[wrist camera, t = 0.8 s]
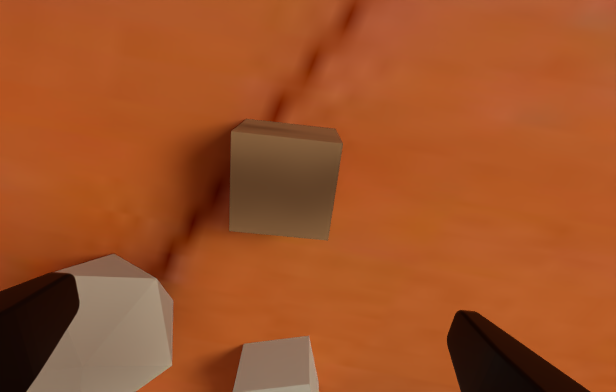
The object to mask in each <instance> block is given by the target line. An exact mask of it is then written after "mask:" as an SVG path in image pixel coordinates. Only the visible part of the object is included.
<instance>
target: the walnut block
mask: <svg viewBox="0 0 616 392" xmlns="http://www.w3.org/2000/svg"><path fill="white" fill-rule="evenodd" d="M342 147H343V143H342V141H341V139H340V137H339V135H338V133H337V131H336V129H333V128H324V127H315V126H306V125H298V124H289V123H280V122H271V121H262V120H253V119H246V120H245V121H243V122H242V123H241V124H240V125H238V126H237V127H236V128H235V129H233V130H232V131H231V160H230V213H229V231H234V232H245V233H255V234H266V235H277V236H287V237H298V238H308V239H319V240H328V237H329V231H330V224H331V218H332V211H333V205H334V198H335V192H336V185H337V179H338V172H339V166H340V159H341V153H342Z"/></svg>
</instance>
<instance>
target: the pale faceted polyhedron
mask: <svg viewBox="0 0 616 392" xmlns="http://www.w3.org/2000/svg"><path fill="white" fill-rule="evenodd" d="M55 272H61V273H70V274H72V275H73V276H74V277H75V279H76V284H77V290H78V295H79V300H80V306H79V310H78V312H77V314H76V316H75V317H74V319H73V321H72V322H71V324H70V325H69V327H68V329H67V330H66V332H65V333H64V335H63V337H62V338H61V340H60V341H59V343H58V345H57V346H56V348H55V349H54V351H53V353H52V354H51V356H50V357H49V359H48V361H47V362H46V364H45V365H44V367H43V369H42V370H41V372H40V373H39V375H38V376H37V378H36V379H35V380H34V382H33V383H32V385H31V386H30V387H29V389H28V390H27V392H136V391H137V390H139V389H140V388H141V387H143V386H144V385H146V384H147V383H148V382H150V381H151V380H153V379H154V378H155V377H157V376H158V375H159V374H161V373H162V372H164V371H165V370H166V369H168V368H169V367H171V366H172V341H173V300H172V298H171V297H170V296H169V294H168V293H167V292H166V290H165V289H164V288H163V286H162V285H161V284H160V282H159V281H158V280H157V278H155V277H153V276H151V275H150V274H148V273H146V272H145V271H143V270H141V269H139V268H138V267H136V266H134V265H133V264H131V263H129V262H128V261H126V260H124V259H122V258H121V257H119V256H117V255H116V254H111V255H108V256H105V257H101V258H98V259H95V260H92V261H88V262H85V263H82V264H78V265H75V266H72V267H68V268H65V269H62V270H59V271H55Z"/></svg>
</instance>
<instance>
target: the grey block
mask: <svg viewBox="0 0 616 392" xmlns="http://www.w3.org/2000/svg"><path fill="white" fill-rule="evenodd" d="M233 392H319V383H318V378H317V373H316V368H315V363H314V358H313V353H312V348H311V343H310V338H309V336H304V337H296V338H287V339H279V340H271V341H263V342H255V343H247V344H244V345H243V349H242V353H241V358H240V362H239V367H238V371H237V375H236V380H235V384H234V389H233Z"/></svg>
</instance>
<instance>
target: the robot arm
mask: <svg viewBox="0 0 616 392" xmlns="http://www.w3.org/2000/svg"><path fill="white" fill-rule="evenodd" d="M79 306H80V300H79V295H78V290H77V284H76V279H75V277H74V276H73V275H72V274H70V273H61V272H51V273H48V274H45V275H43V276H40V277H37V278H35V279H32V280H29V281H27V282H24V283H21V284H19V285H16V286H13V287H11V288H8V289H5V290H3V291H0V392H27V390H28V389H29V387H30V386H31V385H32V383H33V382H34V380H35V379H36V378H37V376H38V375H39V373H40V372H41V370H42V369H43V367H44V365H45V364H46V362H47V361H48V359H49V357H50V356H51V354H52V353H53V351H54V349H55V348H56V346H57V345H58V343H59V341H60V340H61V338H62V337H63V335H64V333H65V332H66V330H67V329H68V327H69V325H70V324H71V322H72V321H73V319H74V317H75V316H76V314H77V312H78V310H79ZM447 345H448V349H449V352H450V356H451V359H452V363H453V366H454V370H455V373H456V376H457V380H458V383H459V387H460V390H461V392H590V391H589V390H587V389H586V388H584V387H583V386H582V385H580V384H579V383H577V382H576V381H574V380H573V379H572V378H570V377H569V376H567V375H566V374H564V373H563V372H562V371H560V370H559V369H557V368H556V367H554V366H553V365H552V364H550V363H549V362H547V361H546V360H544V359H543V358H542V357H540V356H539V355H537V354H536V353H534V352H533V351H532V350H530V349H529V348H527V347H526V346H524V345H523V344H522V343H520V342H519V341H517V340H516V339H514V338H513V337H512V336H510V335H509V334H507V333H506V332H505V331H503V330H502V329H500V328H499V327H497V326H496V325H495V324H493V323H492V322H490V321H489V320H487V319H486V318H485V317H483V316H482V315H480V314H479V313H477V312H475V311H466V310H459V311H458V312H457V313H456V314H455V316H454V319H453V322H452V324H451V327H450V330H449V332H448V335H447Z"/></svg>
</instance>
